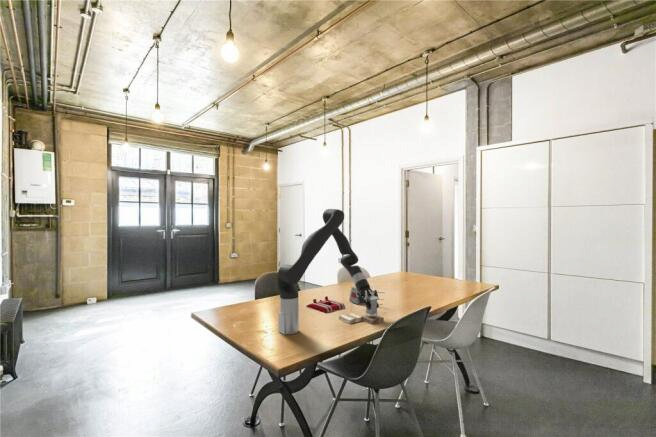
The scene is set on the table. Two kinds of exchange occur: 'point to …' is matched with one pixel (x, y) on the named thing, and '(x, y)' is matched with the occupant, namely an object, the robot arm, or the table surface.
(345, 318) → the stand
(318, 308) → the fire alarm
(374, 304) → the block
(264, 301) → the table surface
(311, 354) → the table surface
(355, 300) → the voltmeter
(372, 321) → the stand
